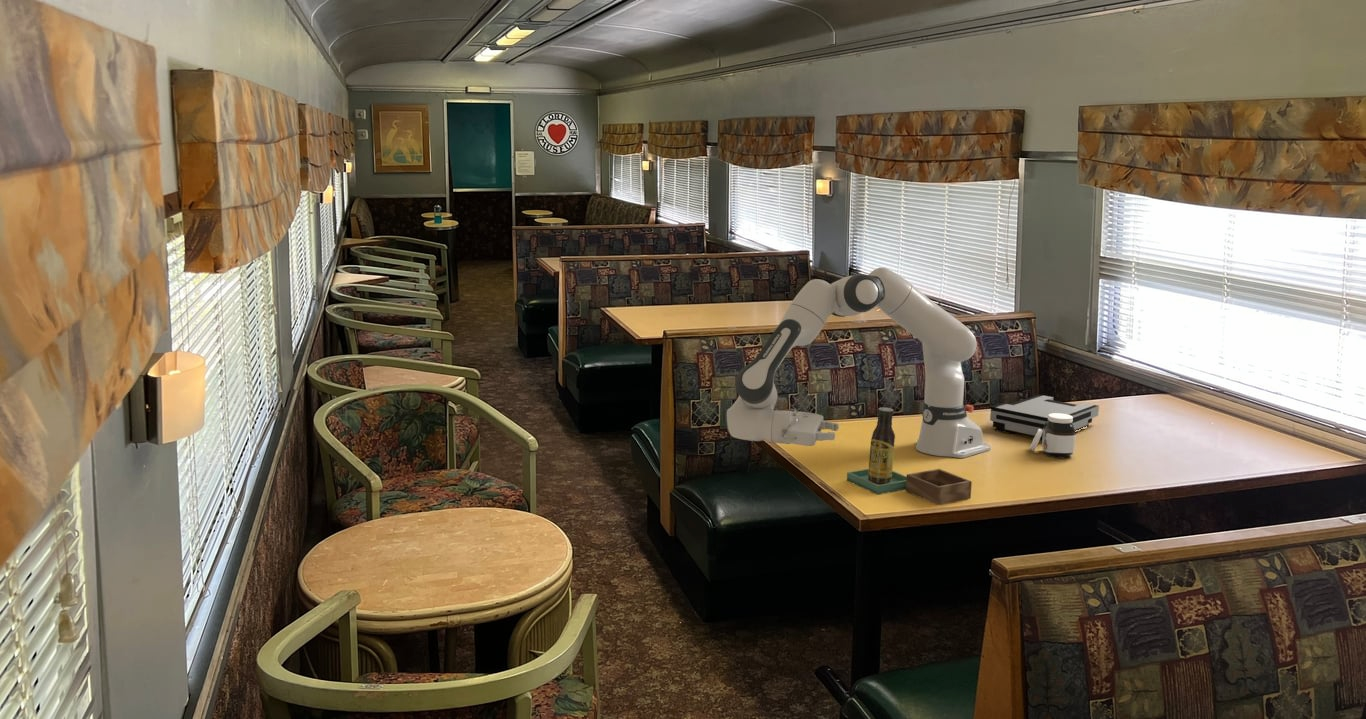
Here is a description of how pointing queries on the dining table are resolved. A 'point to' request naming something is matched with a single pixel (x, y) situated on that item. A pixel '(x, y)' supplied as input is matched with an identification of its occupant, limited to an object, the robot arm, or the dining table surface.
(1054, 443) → the spread jar
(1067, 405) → the game console
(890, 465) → the sauce bottle
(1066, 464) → the dining table surface
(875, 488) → the tray
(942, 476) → the caddy
